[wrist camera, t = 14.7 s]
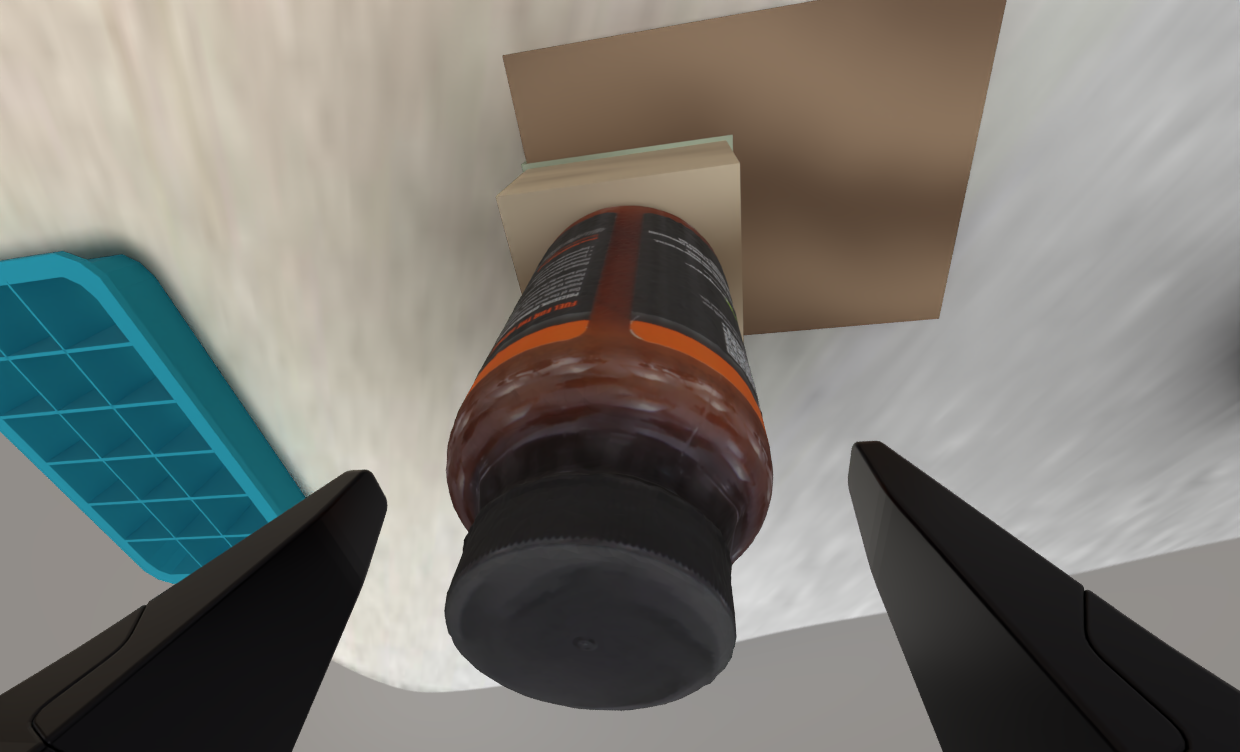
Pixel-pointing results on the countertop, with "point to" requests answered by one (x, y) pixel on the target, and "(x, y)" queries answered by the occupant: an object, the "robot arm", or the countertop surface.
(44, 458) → the ice cube tray
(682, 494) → the supplement bottle
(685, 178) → the beech block
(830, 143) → the board
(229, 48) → the countertop surface
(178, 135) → the countertop surface
